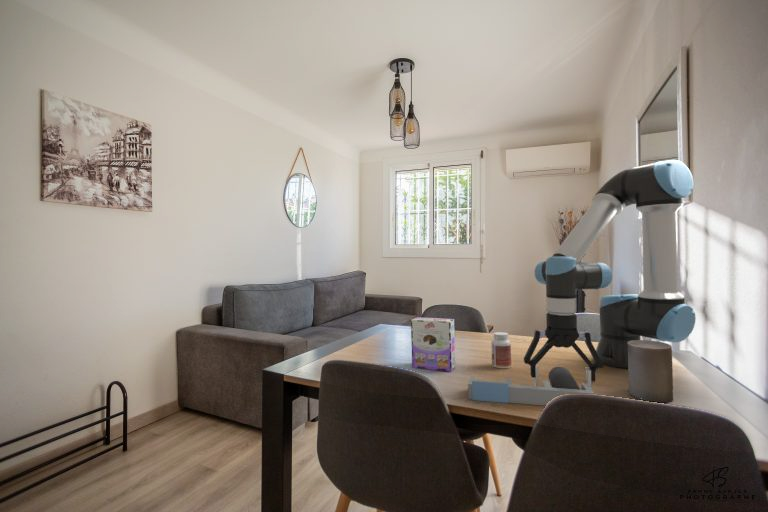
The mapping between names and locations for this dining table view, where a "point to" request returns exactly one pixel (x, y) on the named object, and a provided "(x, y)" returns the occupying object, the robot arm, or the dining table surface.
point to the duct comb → (518, 392)
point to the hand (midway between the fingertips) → (562, 391)
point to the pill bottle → (501, 350)
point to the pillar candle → (650, 370)
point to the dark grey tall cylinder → (562, 378)
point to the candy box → (433, 343)
